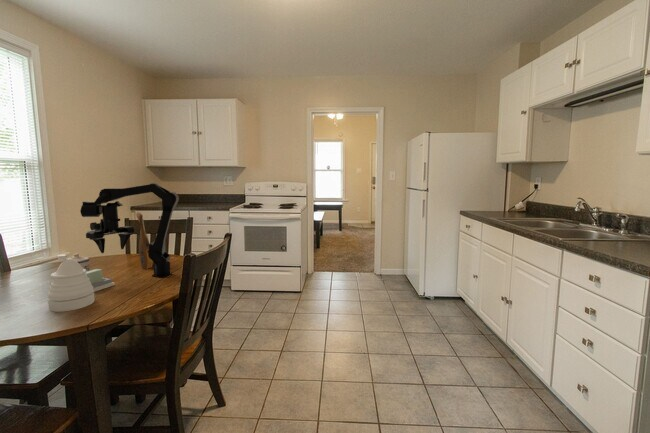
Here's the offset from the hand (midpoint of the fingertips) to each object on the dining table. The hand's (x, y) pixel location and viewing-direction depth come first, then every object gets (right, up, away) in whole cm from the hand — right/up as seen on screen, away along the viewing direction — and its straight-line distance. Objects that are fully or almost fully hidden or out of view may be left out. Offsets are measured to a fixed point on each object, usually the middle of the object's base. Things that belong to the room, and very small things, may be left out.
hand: (112, 251), depth 145 cm
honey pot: (+5, -16, -30) cm, 34 cm away
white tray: (0, -14, -13) cm, 19 cm away
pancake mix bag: (+2, -10, +23) cm, 25 cm away
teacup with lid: (-15, -13, 0) cm, 19 cm away
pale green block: (0, -13, -13) cm, 18 cm away
